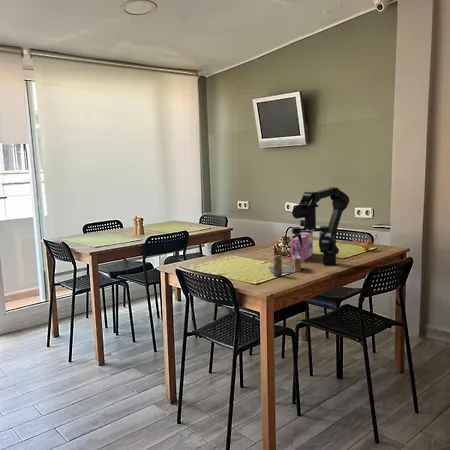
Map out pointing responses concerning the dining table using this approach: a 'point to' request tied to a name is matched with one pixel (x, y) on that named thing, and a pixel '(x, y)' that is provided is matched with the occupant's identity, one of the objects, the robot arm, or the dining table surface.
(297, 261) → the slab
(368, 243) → the magic lamp
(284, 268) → the mat
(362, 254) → the dining table surface
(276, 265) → the pepper mill
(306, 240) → the gum box
